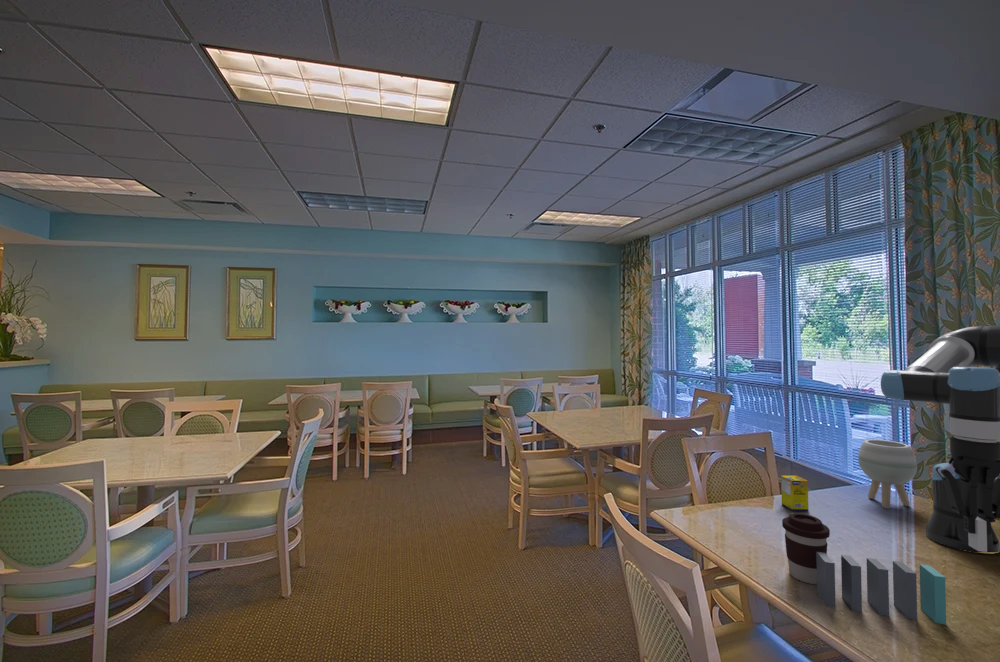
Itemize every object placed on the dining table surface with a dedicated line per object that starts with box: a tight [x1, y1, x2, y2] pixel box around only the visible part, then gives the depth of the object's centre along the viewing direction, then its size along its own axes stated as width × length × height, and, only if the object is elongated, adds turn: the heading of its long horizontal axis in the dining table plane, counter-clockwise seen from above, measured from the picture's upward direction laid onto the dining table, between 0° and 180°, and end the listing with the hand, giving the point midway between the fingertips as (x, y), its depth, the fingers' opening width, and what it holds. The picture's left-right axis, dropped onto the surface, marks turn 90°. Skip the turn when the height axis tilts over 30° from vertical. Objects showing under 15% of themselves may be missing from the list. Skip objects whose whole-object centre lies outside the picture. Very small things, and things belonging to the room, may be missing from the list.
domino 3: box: [866, 557, 890, 616], centre depth 97 cm, size 2×5×10 cm, turn 163°
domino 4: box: [892, 560, 918, 621], centre depth 96 cm, size 2×5×10 cm, turn 163°
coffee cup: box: [781, 512, 831, 585], centre depth 110 cm, size 10×10×15 cm
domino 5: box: [919, 563, 947, 625], centre depth 94 cm, size 2×5×10 cm, turn 163°
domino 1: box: [816, 552, 837, 609], centre depth 100 cm, size 2×5×10 cm, turn 163°
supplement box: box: [780, 475, 809, 512], centre depth 155 cm, size 6×6×11 cm
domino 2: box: [840, 554, 863, 612], centre depth 99 cm, size 2×5×10 cm, turn 163°
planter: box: [857, 439, 918, 510], centre depth 158 cm, size 16×16×22 cm
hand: (977, 548), depth 92 cm, fingers closed
